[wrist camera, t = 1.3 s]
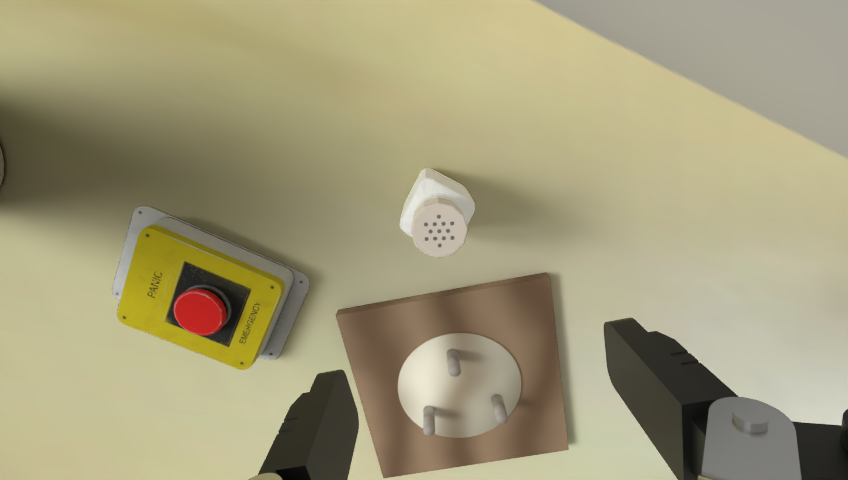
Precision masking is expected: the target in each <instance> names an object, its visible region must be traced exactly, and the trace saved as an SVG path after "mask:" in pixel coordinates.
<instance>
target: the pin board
mask: <svg viewBox="0 0 848 480" xmlns="http://www.w3.org/2000/svg"><path fill="white" fill-rule="evenodd" d="M336 318H337V321H338V324H339V328H340V331H341V335H342V338H343V341H344V345H345V348H346V352H347V355H348V359H349V362H350V365H351V369H352V372H353V376H354V379H355V382H356V386H357V389H358V393H359V396H360V399H361V403H362V406H363V410H364V413H365V417H366V420H367V423H368V427H369V430H370V434H371V437H372V440H373V444H374V447H375V451H376V454H377V457H378V461H379V464H380V468H381V471H382V475H383V478H388V477H395V476H401V475H408V474H414V473H421V472H427V471H434V470H440V469H447V468H453V467H460V466H466V465H473V464H479V463H486V462H492V461H499V460H505V459H512V458H518V457H525V456H531V455H538V454H544V453H551V452H557V451H564V450H569V448H568V439H567V430H566V421H565V412H564V402H563V393H562V384H561V375H560V366H559V357H558V348H557V338H556V329H555V320H554V311H553V302H552V293H551V283H550V277H549V275H548V274H547V273H541V274H535V275H530V276H524V277H519V278H513V279H507V280H502V281H496V282H491V283H485V284H480V285H474V286H469V287H463V288H457V289H452V290H446V291H441V292H435V293H430V294H424V295H419V296H413V297H407V298H402V299H396V300H391V301H385V302H380V303H374V304H368V305H363V306H357V307H352V308H346V309H341V310H338V312H337V314H336Z"/></svg>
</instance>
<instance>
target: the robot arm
mask: <svg viewBox="0 0 848 480" xmlns="http://www.w3.org/2000/svg"><path fill="white" fill-rule="evenodd" d="M3 175H4V160H3V155H2V150H1V147H0V186H1V182H2V179H3ZM604 338H605V349H606V360H607V369H608V373H609V376H610V379H611V382H612V384H613V386H614V388H615V389H616V391H617V392H618V394H619V395H620V397H621V398H622V400H623V401H624V402H625V404H626V405H627V407H628V408H629V410H630V411H631V413H632V414H633V415H634V417H635V418H636V420H637V421H638V423H639V424H640V425H641V427H642V428H643V430H644V431H645V433H646V434H647V436H648V437H649V438H650V440H651V441H652V443H653V444H654V446H655V447H656V449H657V450H658V451H659V453H660V454H661V456H662V457H663V459H664V460H665V462H666V463H667V464H668V466H669V467H670V469H671V470H672V472H673V473H674V474H675V476H676V477H677V479H678V480H848V409H847V410H846V411H845V412H844V414H843V419H842V426H840V425H826V424H813V423H801V422H793V421H791V420H790V419H789V418H788V417H787V416H786V415H785V414H783V413H782V412H781V411H779V410H778V409H776V408H774V407H772V406H770V405H768V404H766V403H763V402H760V401H757V400H753V399H749V398H743V397H738V396H737V395H736V394H735V393H734V392H733V391H732V390H730V389H729V388H728V387H727V386H726V385H725V384H724V383H723V382H722V381H720V380H719V379H718V378H717V377H716V376H715V375H714V374H713V373H711V372H710V371H709V370H708V369H707V368H706V367H705V366H704V365H702V364H701V363H699V362H698V360H697V359H696V358H695V357H694V356H692V355H691V354H690V353H688V352H687V350H686V349H685V348H683V347H682V346H681V345H680V344H679V343H678V342H677V341H676V340H675V339H672V338H670V337H668V336H666V335H664V334H661V333H659V332H657V331H654V332H647V331H646V330H645V329H644V328H643V327H642V326H641V325H640V324H639V323H638V322H637V321H636V320H635V319H633V318H626V319H620V320H615V321H609V322H605V324H604ZM358 428H359V420H358V412H357V408H356V405H355V402H354V399H353V396H352V393H351V389H350V386H349V383H348V380H347V377H346V374H345V372H344V371H343V370H336V371H330V372H325V373H319V374H318V375H317V376H316V378H315V381H314V383H313V385H312V387H311V390H310V392H307V393H303V394H302V395H301V396H300V397H299V398H298V399H297V400H296V401H295V402H294V403H293V404H292V405H291V407H290V409H289V411H288V413H287V415H286V417H285V419H284V423H282V426H281V428H280V430H279V434H277V436H276V438H275V440H274V442H273V444H272V446H271V448H270V451H269V453H268V455H267V457H266V459H265V461H264V463H263V465H262V467H261V469H260V471H259V474H258V475H257V476H254V477H252V478H250V479H249V480H347V478H348V474H349V470H350V465H351V461H352V456H353V452H354V447H355V443H356V438H357V434H358Z"/></svg>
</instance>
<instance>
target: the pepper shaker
mask: <svg viewBox="0 0 848 480" xmlns="http://www.w3.org/2000/svg"><path fill="white" fill-rule="evenodd" d="M474 212H475V202H474V201H473V199H472V197H471V196H470V194H469V192H468V191H467V189H466V188H465V187H464V186H463V185H462V184H460V183H458V182H456V181H454V180H452V179H450V178H448V177H447V176H445V175H443V174H441V173H439V172H437V171H435V170H433V169H431V168H424V169H423V170H422V171H421V172H420V174H419V176H418V178H417V180H416V182H415V183H414V185H413V187H412V189H411V191H410V193H409V195H408V197H407V199H406V201H405V203H404V206H403V210H402V214H401V218H400V228H401V229H402V230H403V232H404V233H406V234H408V235H409V236H411V237H413V240H414V243H415V246H416V247H418V248H419V249H420V250H421V251H422V252H423V253H424V254H426V255H429V256H434V257H439V258H441V257H444V256H448V255H451V254H454V253H455V252H456V251H457V250H458V249H459V248H460V247H461V246H462V245H463V244H464V242H465V239H466V235H467V231H468V228H467V225H468V223H469V221H470V219H471V218H472V216H473V214H474Z"/></svg>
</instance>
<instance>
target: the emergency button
mask: <svg viewBox="0 0 848 480" xmlns="http://www.w3.org/2000/svg"><path fill="white" fill-rule="evenodd" d="M309 287H310V281H309V279H308V277H307V276H306V275H304V274H303V273H301V272H299V271H297V270H294V269H292V268H290V267H288V266H285V265H283V264H281V263H278V262H276V261H274V260H272V259H269V258H267V257H265V256H262V255H260V254H258V253H255V252H253V251H251V250H249V249H246V248H244V247H242V246H239V245H237V244H235V243H233V242H230V241H228V240H226V239H223V238H221V237H219V236H216V235H214V234H212V233H210V232H207V231H205V230H203V229H200V228H198V227H196V226H194V225H191V224H189V223H187V222H184V221H182V220H180V219H177V218H175V217H173V216H171V215H168V214H166V213H164V212H161V211H159V210H157V209H155V208H152V207H149V206H140V207H137V208H136V209H135V210H134V211H133V214H132V218H131V221H130V225H129V229H128V232H127V236H126V239H125V243H124V247H123V250H122V254H121V258H120V261H119V265H118V268H117V272H116V276H115V279H114V283H113V286H112V294H113V295H114V296H115V298H116V299H117V300H119V301H120V302H119V305H118V309H117V317H118V319H119V321H120V322H122V323H123V324H125V325H127V326H130V327H132V328H135V329H137V330H140V331H143V332H145V333H148V334H150V335H153V336H155V337H158V338H160V339H163V340H166V341H168V342H171V343H173V344H176V345H178V346H181V347H183V348H186V349H188V350H191V351H194V352H196V353H199V354H201V355H204V356H206V357H209V358H211V359H214V360H217V361H219V362H222V363H224V364H227V365H229V366H232V367H234V368H237V369H241V370H245V369H247V368H249V367H250V366H251V365H252V364H253V363H254V362H255V361H256V359H257V358H258V357H260V358H262V359H266V360H274V359H277V358H278V356H279V355H280V353H281V351H282V349H283V347H284V344H285V342H286V340H287V337H288V335H289V333H290V331H291V328H292V326H293V324H294V322H295V319H296V317H297V315H298V312H299V310H300V308H301V306H302V303H303V301H304V299H305V296H306V294H307V292H308V290H309Z"/></svg>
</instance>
